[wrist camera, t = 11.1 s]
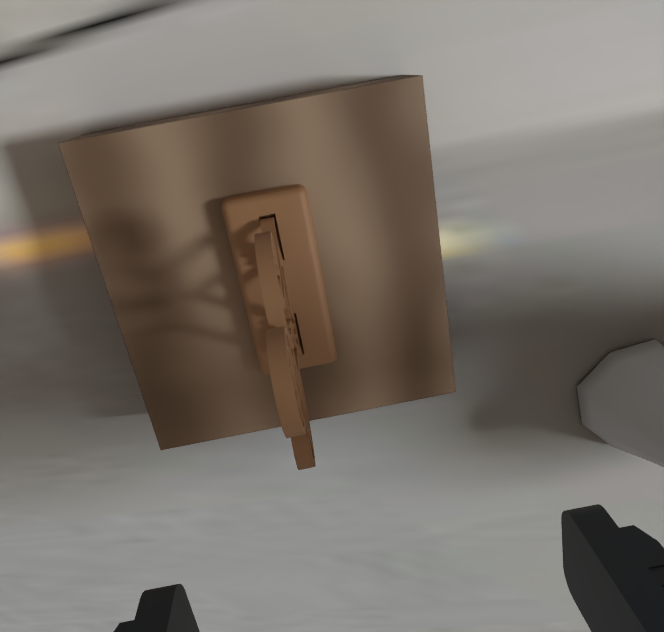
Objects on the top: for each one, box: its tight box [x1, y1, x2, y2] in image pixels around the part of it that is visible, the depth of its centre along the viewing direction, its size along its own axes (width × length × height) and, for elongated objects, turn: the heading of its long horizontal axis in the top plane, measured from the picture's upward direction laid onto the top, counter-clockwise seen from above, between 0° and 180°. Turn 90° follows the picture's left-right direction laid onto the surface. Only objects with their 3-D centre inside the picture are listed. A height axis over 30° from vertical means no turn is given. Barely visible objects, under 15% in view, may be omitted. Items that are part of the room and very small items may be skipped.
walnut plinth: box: [58, 75, 456, 450], centre depth 31 cm, size 16×16×4 cm
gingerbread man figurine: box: [221, 184, 337, 470], centre depth 24 cm, size 9×4×12 cm, turn 10°
